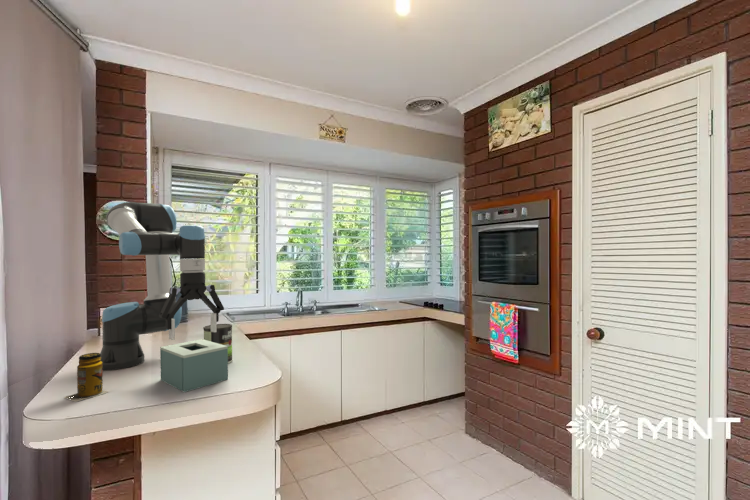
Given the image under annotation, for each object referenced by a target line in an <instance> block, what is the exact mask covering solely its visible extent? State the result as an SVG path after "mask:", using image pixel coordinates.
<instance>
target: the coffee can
mask: <svg viewBox="0 0 750 500" xmlns="http://www.w3.org/2000/svg"><path fill="white" fill-rule="evenodd" d="M216 327H217V332H211V324H209V325H205V326H203V328H202V329H203V339H204V340H207V341H211V342H214V343H218V344H222V345H225V346H228V365H229V364H230V363H232V362H233V324H231V323H216Z"/></svg>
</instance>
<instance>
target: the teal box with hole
mask: <svg viewBox="0 0 750 500" xmlns="http://www.w3.org/2000/svg"><path fill="white" fill-rule="evenodd" d="M159 353H160V355H159V357H160V381H161V382H163V383H166V384H167V385H170V386H172V387H173V388H175V389H177V390H179V391H181V392H183V393H185V392H190V391H192V390H197V389H199V388H203V386H204V387H207V386H210V385H214V384H217V383H220V382H224V381H227V379H228V380H229V364H228V346H225V345H222V344H218V343H214V342H211V341H207V340H204V338H202V339H196V340H190V341H185V342H181V343H180V342H179V343H175V344H169V345H164V346H160V351H159Z"/></svg>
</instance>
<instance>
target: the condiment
mask: <svg viewBox="0 0 750 500" xmlns="http://www.w3.org/2000/svg"><path fill="white" fill-rule="evenodd" d="M100 353H101V352H89V353H84V354H81V355H80V356H79V357H78V365H77V366H76V369H77V371H76V377H77V378H76V379H77V380H76V381H77V383H76V384H77V387H76V388H77V389H76V390H77V392H76V393H74V394H71V395H66V396H63V398H64V399H66V398H68V399H71V401H72V402H75V403H76V402H80V401H83V400H87V399H90V398H93V397H97V396H100V395H103V394H107V393H109V391H107V390H104V389H103V384H104V383H103V382H104V381H103V370H102V361H101V354H100ZM73 396H74V397H73ZM69 397H70V398H69ZM71 397H73V398H71ZM68 399H67V400H68Z"/></svg>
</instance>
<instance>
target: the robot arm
mask: <svg viewBox="0 0 750 500" xmlns="http://www.w3.org/2000/svg"><path fill="white" fill-rule="evenodd" d="M105 218H106V219H105V220H106V223H107V224H108V226H109V227H110V228H111V229H112V231H113V230H114V231H115V232H117V234H118V235H119V239H118V247H119V252H120V254H121V255H122V256H123V255H124V256H145V266H146V267H145V268H146V287H147V288H146V290H147V296H146V297H145V298H144V299H143V304H140V303H139V301H131V302H124V303H117V304H113V305H111V306H108V307H106V308H104V309H103V310H102V316H101V318H102V319H101V322H102V348H101V350H100V352H99V353H100V354H101V361H102V371H112V370H113V371H115V370H121V369H126V368H131V367H135V366H137V365H141V364H143V363H144V362H145V353H144V350H143V348H142V345H141V342H140V335H147V334H151V333H153V334H154V333H161V332H167V331H168V340H171V341H174V340H175V339H176V331H175V330H176V329H177V328H178V327H179V326H180V323H181V320H182V315H183V314H182V313H183V311H182V310H183V309H182V306H183V305H184V304H185V303H186V301H193V300H201V301H202V302H203V303H204V305H206V306H207V307H208V308H209V309H210V310H211V312H210V313H209V314H210V315H209V316H210V325H211V332H217V327H216V324H217V323H218V322H219V321H220V320H219V318H220V317H219V314H220V313H221V311H224V310H225V307H224V305H223V303H222V301H221V299H220V297H219V296H218V293H217V291H216V286H215V284H208V285H206V273H205V272H204V271H205V270H206V248H205V247H206V234H205V228H204V227H203V226H202V225H194V224H193V225H180V227H179V232H178V233H177V232H176V233H175V231H176V230H177V215H176V213H175V210H174V209H173V207H172V206H171V205H168V204H162V203H150V202H147V203H146V202H136V201H128V202H127V201H126V202H122V203H121V202H120V203H118V204H116V205H114V206H112V207H111V208H110V209H109V210H108V211H107V213H106V217H105ZM173 232H174V233H173ZM171 255H172V256H174V255H175V256H179V270H180V272H181V273H180V274H179V278H180V279H179V282H180V283H179V284H180V286H179V288H178V287H172V281H171V280H172V279H171V263H170V262H171V261H170V256H171ZM206 291H207V292H208V293H209V296H210V297H211V299H212V301H213V302H212V301H211V300H210V298H209V297H208V296H207V295H206V293H205V292H206ZM179 293H180V294H181V295H180V296H179V297H178V299H177V297H176V296H177V295H178V294H179Z"/></svg>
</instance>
